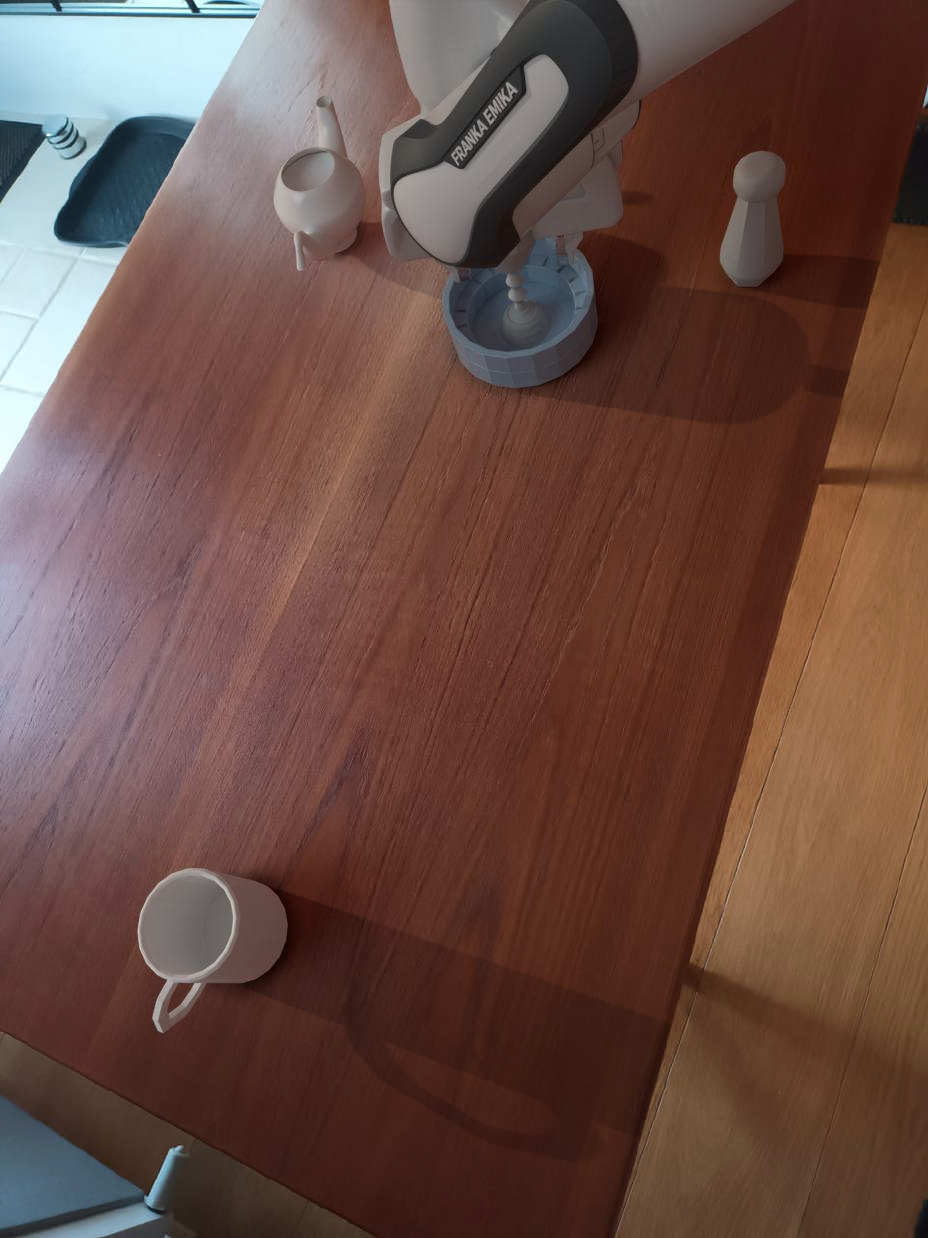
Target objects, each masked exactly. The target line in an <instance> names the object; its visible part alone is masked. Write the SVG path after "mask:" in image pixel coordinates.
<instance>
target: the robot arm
mask: <svg viewBox="0 0 928 1238" xmlns="http://www.w3.org/2000/svg"><path fill="white" fill-rule="evenodd" d="M796 1H797V0H388V4H389V11H390V17H391V22H392V29H393V33H394V37H395V42H396V45H397V50H398V53H399V57H400V61H401V63H402V64H401V65H402V68H403V72H404V75H405V78H406V81H407V84H408V88H409V89H410V91H411V93H412V95H414V97H415V99H416V101H418V104H419V106H420V113H418V114H417V115H415V116H414V117H412V118H410V119H408V120H406V121H405V122H403V123H401V124H399V125H397V126H395V127H392V128H391V129H389V130H388V131H386V132H385V133H384V134H383V135H382V136H381V141H380V146H379V155H378V184H379V192H380V198H381V226H382V232H383V237H384V240H385V244H386V248H387V250H388V252H389V255H390V256H391V257H393V258H394V259H396V260H398V261H401V262H403V263H406V262H413V261H417V260H423V259H430V258H433V260H434V261H435V263H437V264H438V265H440V266H441V267H443V268H444V269H445V270H447V271H448V272H450V273H453V277H454V280H455V282H456V283H458V282H463V281H469V280H471V268H473V269H483V268H496V267H498V266H499V265H500V264H501V263H502V261H503V260H504V259H505V258H506V257H507V256H508V255H509V254H510V253H511V251H512V250H513V249H514V248H515V247H516V246H517V245H518V244H519V243H520V239H521V238H522V237H523V236H524V235H525V234H526V233H527V232H528V231H530V230H531V229H532V235H533V238H534V239H535V240H536V239H542V238H548V237H554V236H556V237H558V239H555V242H556V255H557V260H558V266H562V265H569V264H574V251H575V249H576V248H577V249H578V246H579V245H580V243H581V242H582V240H583V239H584V232H588V231H595V230H601V229H607V228H612V227H615V226H616V225H617V224H618V223H619V222H620V220H621V219H622V218H623V216H624V205H623V204H624V203H623V194H622V185H621V179H620V174H619V168H618V167H619V166H620V164H621V163H622V160H623V159H624V146H623V140H624V139H625V137H626V136H628V134H629V132H631V131H632V130H633V129H634V128H635V127H636V126H637V124H638V121H639V119H640V115H641V110H642V103H643V99H644V98H645V97H646V96H648V95H650V94H652V93H653V92H654V91H656V90H657V89H659V88H660V87H662V86H663V85H665V84H667V83H668V82H670V81H671V80H673V79H674V78H676V77H678V76H679V75H681V74H682V73H684V72H685V71H687V70H688V69H691V68H692V67H693V66H695V65H696V64H698V63H699V62H701V61H703V60H704V59H706V58H708V57H710V56H711V55H712V54H714V53H716V52H718V51H720V50H721V49H722V48H724V47H725V46H727V45H729V44H730V43H732V42H734V41H735V40H737V39H739V38H740V37H742V36H743V35H745V34H747V33H748V32H750V31H752V30H753V29H755V28H756V27H758V26H760V25H762V24H763V23H765V22H766V21H767V20H769V19H770V18H772V17H774V16H775V15H776V14H778V13H779V12H781V11H782V10H784V9H785V8H787V7H788V6H790V5H791V4H793V3H795V2H796ZM560 236H563V237H560Z"/></svg>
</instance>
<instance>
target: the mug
mask: <svg viewBox="0 0 928 1238" xmlns="http://www.w3.org/2000/svg"><path fill="white" fill-rule="evenodd" d="M138 920H139V921H138V925H137V939H138V948H139V951H140V952H141V955H142V957H143V959H144V961H145V964H146V965H147V966H148V967H149V968H150V969H151V970H152V971H153V972H154V973H155V974H156V975H157V976H158V977H160V978H162V979H164V980H166V982H165V984H164V985H163V987H162V989H161V991H160V992H159V995H158V996H157V999H156V1001H155V1005H154V1009H153V1012H152V1017H151V1019H152V1021H153V1023H154V1026H155V1028H156V1030H157V1032H160V1033H162V1034H165V1033H167V1031H169V1030H170V1029H171V1028H172V1027H174V1026H175V1025H177V1023H179V1022H180V1021H182V1020H183V1019H184V1018H186V1017H187V1015H188V1014H189V1012H190V1011H191V1010H192V1008H193V1007H194V1005H195V1004H196V1002H197V1001H198V999H199V998H200V996H201V995H202V993H203V991H204V989H205V987H206V985H207V984H243V983H244V984H245V983H247V982H250V981H254V980H256V979H258V978H259V977H261V976H263V975H264V974H265V973H267V972H268V971H270V970H271V968H272V967H273V966H274V965H275V963H276V962H277V961H278V960H279V959H280V957H281V954H282V951H283V950H284V948H285V945H286V942H287V935H288V926H289V924H288V923H289V922H288V919H287V913H286V909H285V905H284V904H283V903H282V901H281V899H280V897H279V895H277V893H275V892H274V891H273V889H271V888H270V887H269V886H268V885H266V884H263V883H261V882H259V881H256V880H253V879H249V878H244V877H240V876H237V875H231V874H229V873H223V872H220V871H216V870H213V869H208V868H200V867H199V868H198V867H196V868H195V867H188V868H184V869H181V870H178V871H175V872H172V873H171V874H169V875H168V876H167V877H165V878H164V879H161V881H159V882H158V883H157V885H155V887H154V888H153V889H152V890H151V892H150V893H149V894H148V895H147V897H146V900H145V902H144V904H143V906H142V908H141V911H140V913H139V918H138ZM180 983H182V984H193V985H192V986H191V989H190V991H189V992H188V993H187V994H186V996H185V998H184V999H183V1001H181V1003H180V1004H179V1005H178V1006H177V1007H175V1008H174V1009H173V1010H171V1011H170V1012H169V1013H168V1010H169V1005H170V1002H171V999H172V996H173V994H174V992H175V990H176V989H177V987H178V985H179V984H180Z"/></svg>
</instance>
